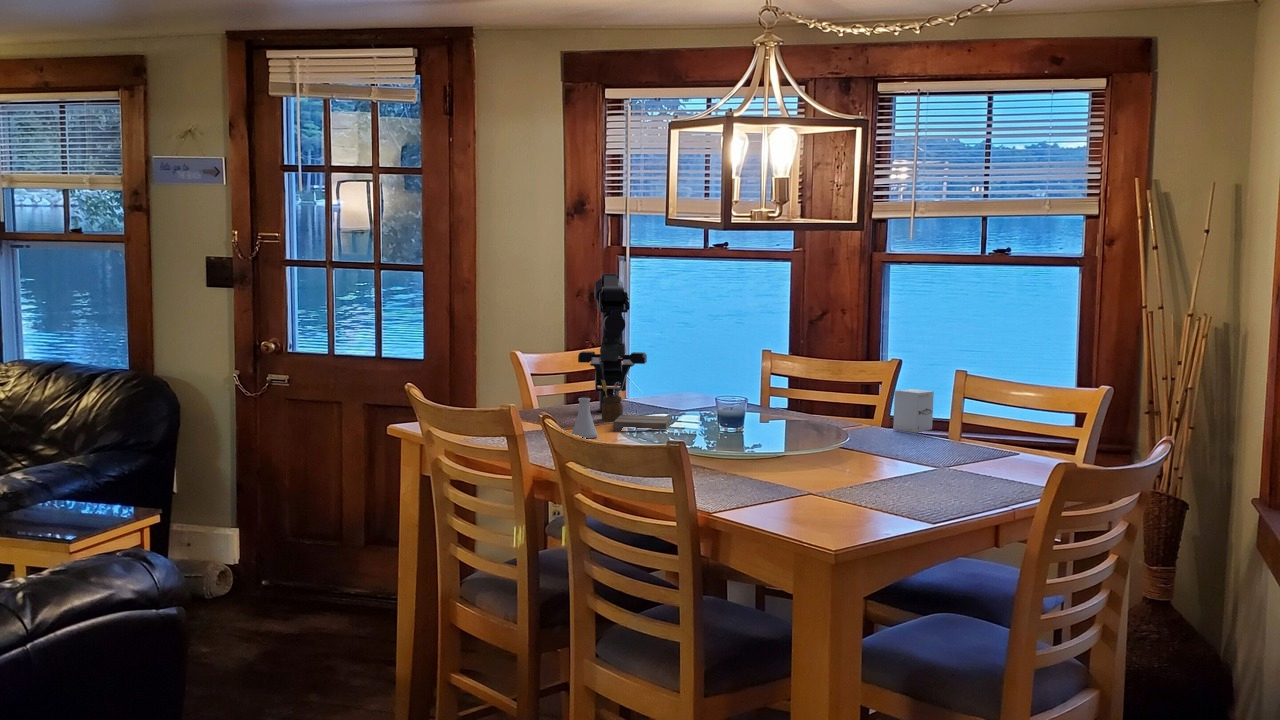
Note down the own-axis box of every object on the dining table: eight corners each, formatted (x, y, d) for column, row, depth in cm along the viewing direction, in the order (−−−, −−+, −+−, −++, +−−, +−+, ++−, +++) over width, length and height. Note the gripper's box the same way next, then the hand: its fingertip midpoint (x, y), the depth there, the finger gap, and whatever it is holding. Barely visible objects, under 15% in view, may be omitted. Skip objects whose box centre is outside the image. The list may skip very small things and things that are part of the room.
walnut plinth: (620, 423, 318) (620, 414, 318) (670, 425, 316) (670, 416, 316) (613, 431, 304) (613, 421, 304) (665, 432, 302) (665, 423, 302)
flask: (567, 435, 296) (567, 397, 295) (594, 434, 298) (594, 396, 297) (573, 439, 289) (574, 400, 288) (601, 438, 291) (601, 399, 290)
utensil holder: (627, 421, 321) (627, 379, 320) (609, 423, 318) (609, 380, 317) (614, 419, 326) (614, 377, 325) (596, 421, 322) (596, 379, 321)
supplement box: (916, 442, 291) (917, 392, 290) (892, 438, 297) (893, 390, 296) (932, 439, 296) (934, 390, 295) (908, 435, 302) (910, 388, 301)
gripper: (574, 333, 313) (574, 390, 314) (642, 335, 311) (641, 392, 312) (581, 331, 324) (581, 386, 325) (647, 332, 322) (646, 387, 323)
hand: (612, 388), depth 321 cm, fingers open, 5 cm apart
